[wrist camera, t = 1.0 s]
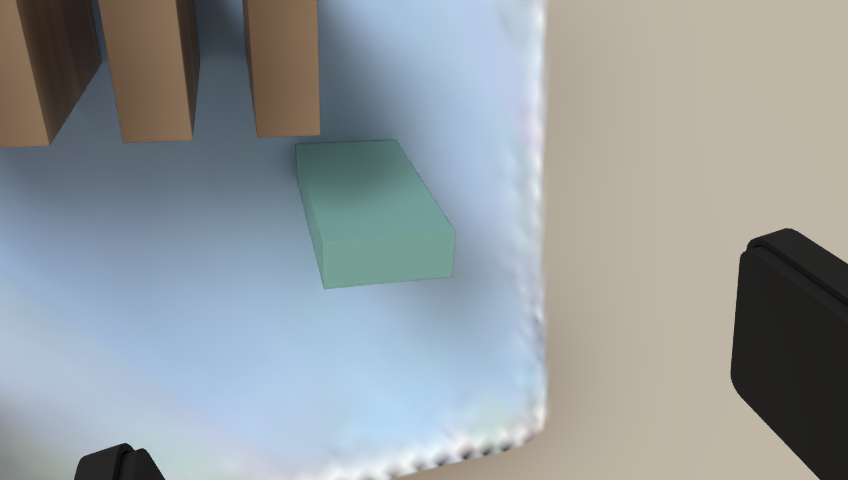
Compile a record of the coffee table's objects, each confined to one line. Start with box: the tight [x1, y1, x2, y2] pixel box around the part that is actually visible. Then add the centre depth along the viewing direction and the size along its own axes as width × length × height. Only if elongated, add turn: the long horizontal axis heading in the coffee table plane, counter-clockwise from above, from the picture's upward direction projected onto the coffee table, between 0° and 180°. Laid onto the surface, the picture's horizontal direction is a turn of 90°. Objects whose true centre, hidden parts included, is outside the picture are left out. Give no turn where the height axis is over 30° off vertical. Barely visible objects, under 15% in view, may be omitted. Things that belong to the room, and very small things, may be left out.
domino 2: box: [98, 0, 200, 143], centre depth 23 cm, size 2×5×10 cm, turn 177°
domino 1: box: [0, 0, 101, 147], centre depth 22 cm, size 2×5×10 cm, turn 177°
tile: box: [296, 140, 456, 289], centre depth 29 cm, size 2×5×10 cm, turn 87°
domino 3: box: [242, 0, 320, 138], centre depth 24 cm, size 2×5×10 cm, turn 177°
